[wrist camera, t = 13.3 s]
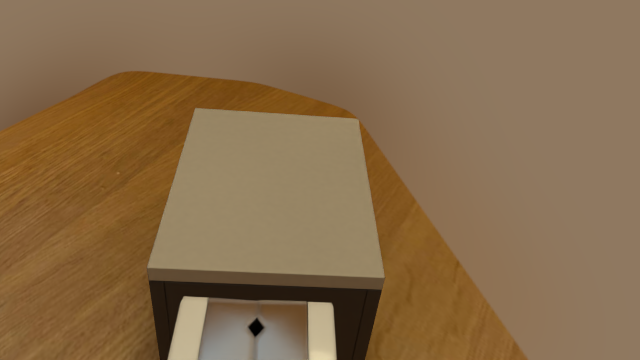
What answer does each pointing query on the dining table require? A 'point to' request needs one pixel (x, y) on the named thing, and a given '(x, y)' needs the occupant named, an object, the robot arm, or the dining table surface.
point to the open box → (348, 304)
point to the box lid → (269, 204)
